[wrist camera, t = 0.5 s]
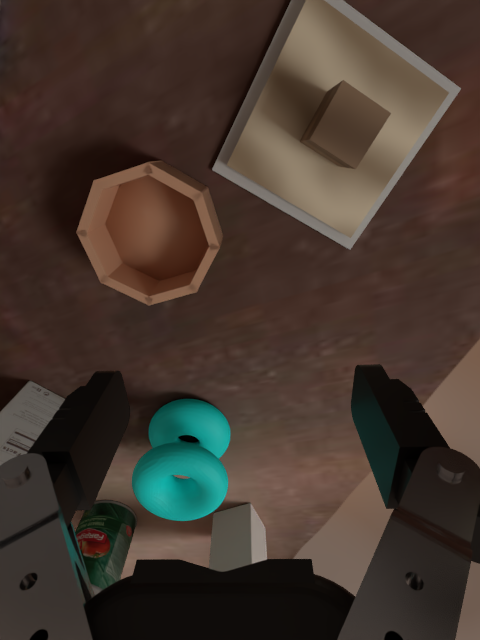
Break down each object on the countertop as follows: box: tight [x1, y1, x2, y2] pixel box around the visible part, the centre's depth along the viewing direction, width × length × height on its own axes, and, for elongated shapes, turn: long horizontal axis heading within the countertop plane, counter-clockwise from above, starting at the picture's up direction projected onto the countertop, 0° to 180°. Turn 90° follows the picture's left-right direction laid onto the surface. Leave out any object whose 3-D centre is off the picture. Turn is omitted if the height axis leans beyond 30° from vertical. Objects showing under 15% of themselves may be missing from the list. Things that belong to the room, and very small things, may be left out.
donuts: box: [132, 399, 230, 521], centre depth 40 cm, size 10×10×10 cm
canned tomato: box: [75, 500, 137, 595], centre depth 47 cm, size 8×8×11 cm
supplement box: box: [0, 381, 65, 465], centre depth 37 cm, size 10×9×17 cm
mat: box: [212, 0, 461, 249], centre depth 30 cm, size 15×15×1 cm
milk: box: [209, 503, 267, 572], centre depth 42 cm, size 6×6×22 cm
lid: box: [227, 0, 449, 238], centre depth 27 cm, size 13×13×6 cm
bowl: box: [76, 160, 223, 306], centre depth 32 cm, size 11×11×5 cm
